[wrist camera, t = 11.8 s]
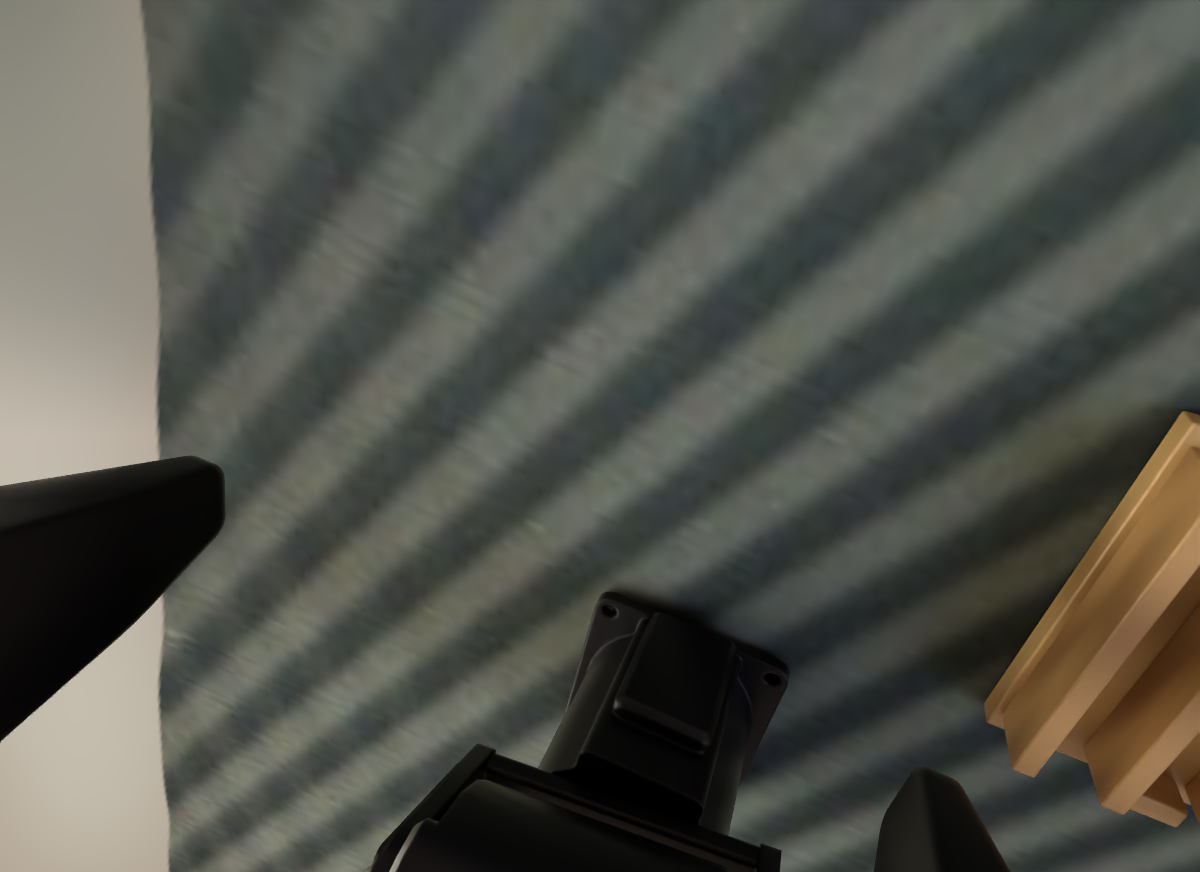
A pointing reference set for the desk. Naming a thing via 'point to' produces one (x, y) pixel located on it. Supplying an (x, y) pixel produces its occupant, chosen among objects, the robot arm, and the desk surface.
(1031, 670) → the dish rack
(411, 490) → the desk surface
